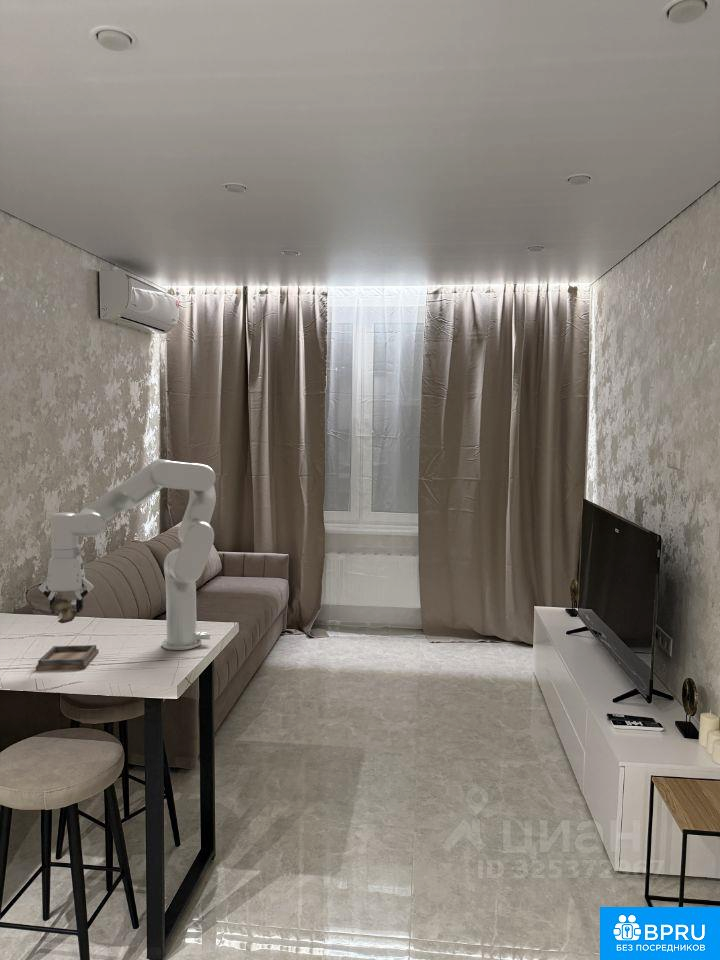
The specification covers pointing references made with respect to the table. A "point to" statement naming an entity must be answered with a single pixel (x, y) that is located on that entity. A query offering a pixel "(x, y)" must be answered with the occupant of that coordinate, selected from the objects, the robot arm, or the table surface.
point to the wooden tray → (67, 657)
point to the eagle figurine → (64, 610)
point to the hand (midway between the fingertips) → (66, 611)
